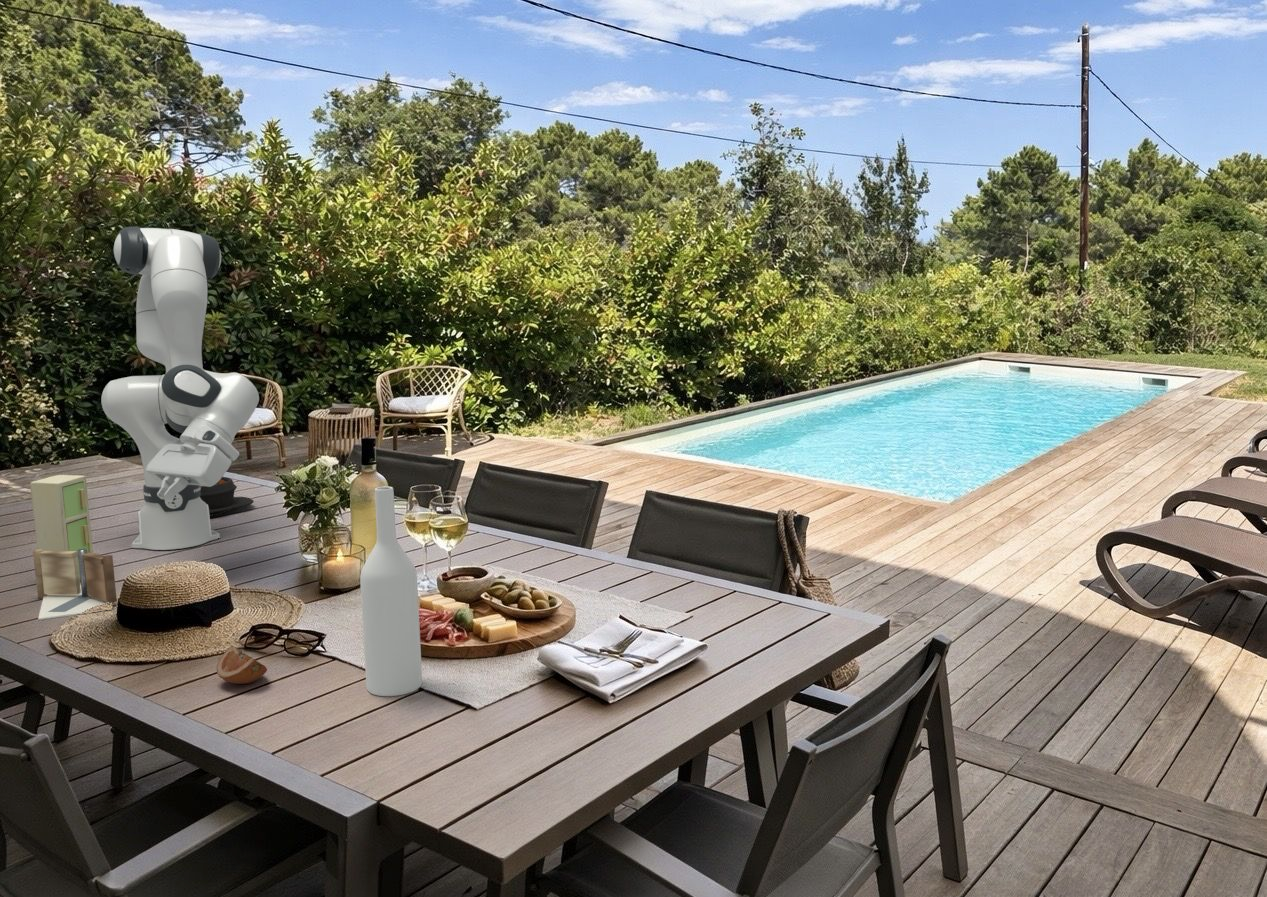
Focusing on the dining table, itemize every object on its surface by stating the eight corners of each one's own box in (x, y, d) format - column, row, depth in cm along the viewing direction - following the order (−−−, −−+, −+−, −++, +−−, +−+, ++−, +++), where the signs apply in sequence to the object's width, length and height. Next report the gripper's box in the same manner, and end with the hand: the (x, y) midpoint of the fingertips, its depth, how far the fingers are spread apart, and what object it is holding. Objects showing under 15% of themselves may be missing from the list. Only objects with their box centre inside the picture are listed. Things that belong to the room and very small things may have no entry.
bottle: (371, 700, 149) (359, 495, 145) (362, 681, 157) (350, 485, 152) (427, 691, 153) (418, 490, 148) (416, 672, 160) (406, 480, 155)
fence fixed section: (93, 596, 201) (88, 548, 200) (88, 599, 200) (83, 551, 198) (41, 595, 202) (36, 548, 201) (35, 598, 200) (30, 550, 199)
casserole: (244, 500, 288) (242, 471, 287) (262, 512, 273) (259, 481, 271) (146, 512, 275) (143, 481, 273) (158, 526, 259) (155, 493, 258)
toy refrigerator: (71, 585, 209) (60, 482, 205) (39, 584, 210) (28, 481, 207) (99, 574, 216) (89, 475, 213) (68, 573, 218) (58, 474, 214)
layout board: (45, 589, 206) (45, 587, 206) (113, 581, 211) (113, 579, 211) (38, 620, 187) (38, 618, 187) (112, 610, 193) (112, 608, 193)
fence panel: (86, 596, 199) (81, 551, 197) (95, 593, 200) (91, 549, 199) (109, 603, 194) (105, 557, 193) (119, 600, 196) (114, 555, 194)
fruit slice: (276, 684, 156) (274, 653, 155) (232, 697, 152) (229, 664, 151) (253, 670, 162) (251, 639, 161) (210, 681, 158) (207, 650, 157)
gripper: (163, 431, 215) (122, 484, 209) (223, 435, 204) (182, 492, 197) (184, 449, 220) (145, 503, 213) (245, 455, 208) (205, 511, 201)
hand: (163, 498), depth 205 cm, fingers closed
